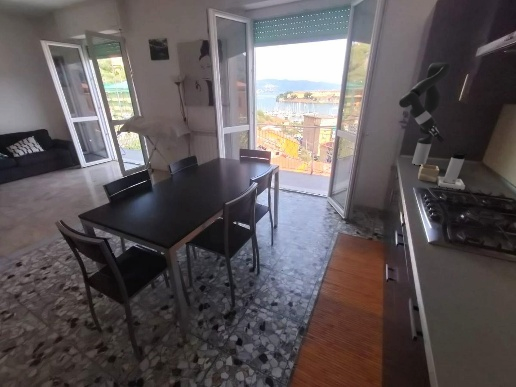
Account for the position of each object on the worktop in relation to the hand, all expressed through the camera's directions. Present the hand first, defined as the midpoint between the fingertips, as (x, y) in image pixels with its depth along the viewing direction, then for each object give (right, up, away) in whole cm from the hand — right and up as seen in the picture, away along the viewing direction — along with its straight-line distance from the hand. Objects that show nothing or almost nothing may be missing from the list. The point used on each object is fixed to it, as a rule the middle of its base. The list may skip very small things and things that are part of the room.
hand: (441, 139), depth 146 cm
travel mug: (+8, -27, +4) cm, 29 cm away
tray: (+8, -28, +4) cm, 30 cm away
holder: (+1, -23, +15) cm, 27 cm away
